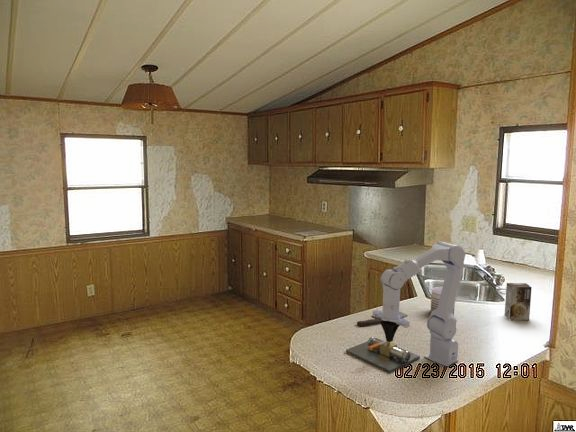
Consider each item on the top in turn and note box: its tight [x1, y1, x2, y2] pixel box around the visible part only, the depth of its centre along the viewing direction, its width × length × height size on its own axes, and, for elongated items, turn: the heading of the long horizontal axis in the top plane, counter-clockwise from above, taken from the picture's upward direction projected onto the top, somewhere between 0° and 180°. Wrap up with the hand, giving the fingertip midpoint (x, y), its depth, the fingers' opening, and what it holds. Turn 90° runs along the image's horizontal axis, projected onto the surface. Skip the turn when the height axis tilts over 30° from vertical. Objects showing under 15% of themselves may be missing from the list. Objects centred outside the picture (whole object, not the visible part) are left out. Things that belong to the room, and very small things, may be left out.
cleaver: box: [356, 311, 408, 327], centre depth 203 cm, size 29×10×2 cm, turn 123°
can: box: [430, 286, 456, 316], centre depth 210 cm, size 11×11×12 cm
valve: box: [345, 336, 421, 374], centre depth 166 cm, size 21×18×6 cm
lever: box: [369, 340, 393, 351], centre depth 161 cm, size 12×2×1 cm, turn 129°
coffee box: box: [504, 282, 532, 321], centre depth 205 cm, size 9×6×16 cm
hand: (389, 340), depth 154 cm, fingers closed
